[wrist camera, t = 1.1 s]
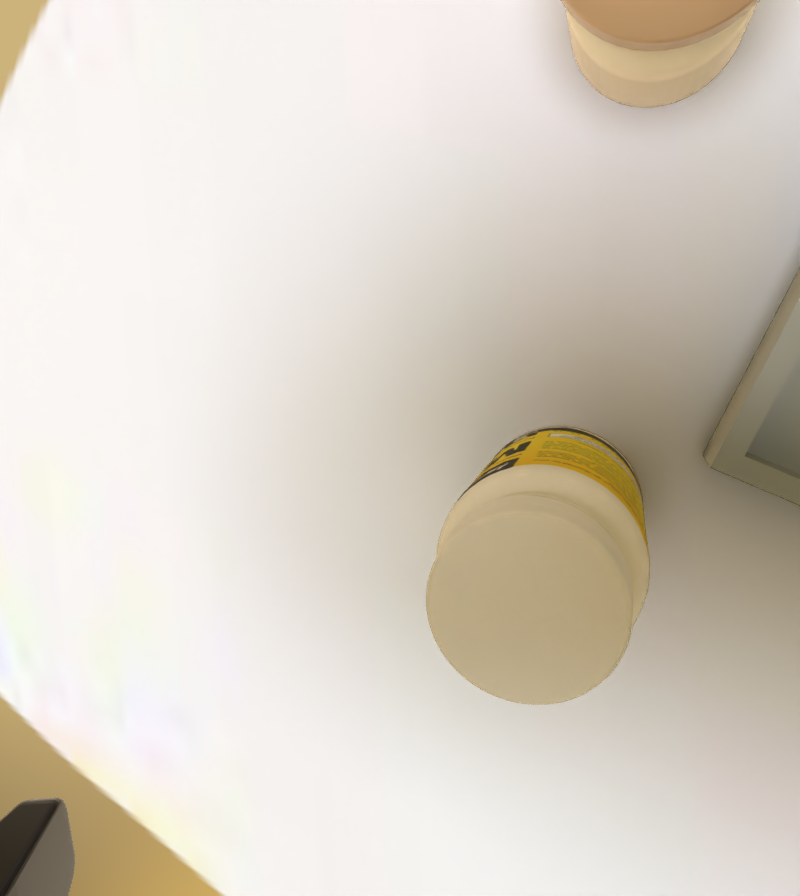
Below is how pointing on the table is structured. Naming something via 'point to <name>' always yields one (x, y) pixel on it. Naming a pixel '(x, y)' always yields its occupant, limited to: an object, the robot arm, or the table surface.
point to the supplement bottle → (542, 568)
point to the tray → (766, 411)
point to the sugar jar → (654, 45)
